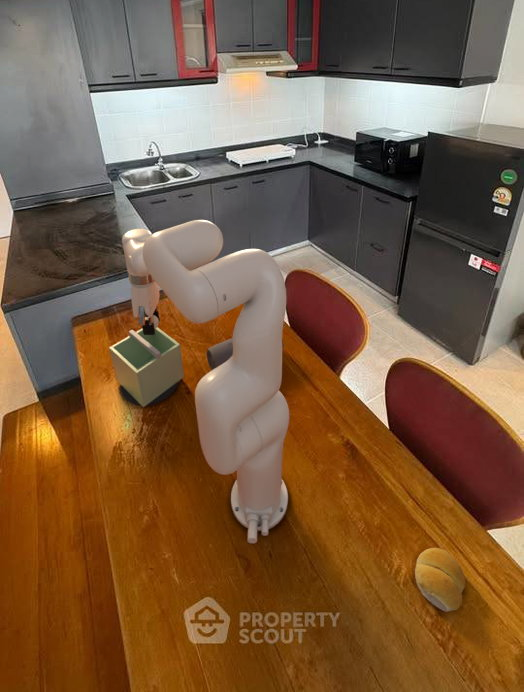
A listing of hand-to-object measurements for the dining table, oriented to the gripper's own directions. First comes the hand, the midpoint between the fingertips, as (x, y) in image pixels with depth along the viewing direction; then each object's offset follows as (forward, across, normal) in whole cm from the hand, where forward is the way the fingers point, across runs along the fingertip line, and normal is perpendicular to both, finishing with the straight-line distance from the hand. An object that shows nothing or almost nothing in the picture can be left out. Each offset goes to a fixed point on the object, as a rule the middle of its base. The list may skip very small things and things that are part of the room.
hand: (151, 327), depth 108 cm
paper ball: (-2, 0, 0) cm, 2 cm away
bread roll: (+18, +49, +65) cm, 84 cm away
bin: (+17, +3, -2) cm, 17 cm away
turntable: (+18, +3, -2) cm, 18 cm away
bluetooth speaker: (+18, -5, +26) cm, 32 cm away
